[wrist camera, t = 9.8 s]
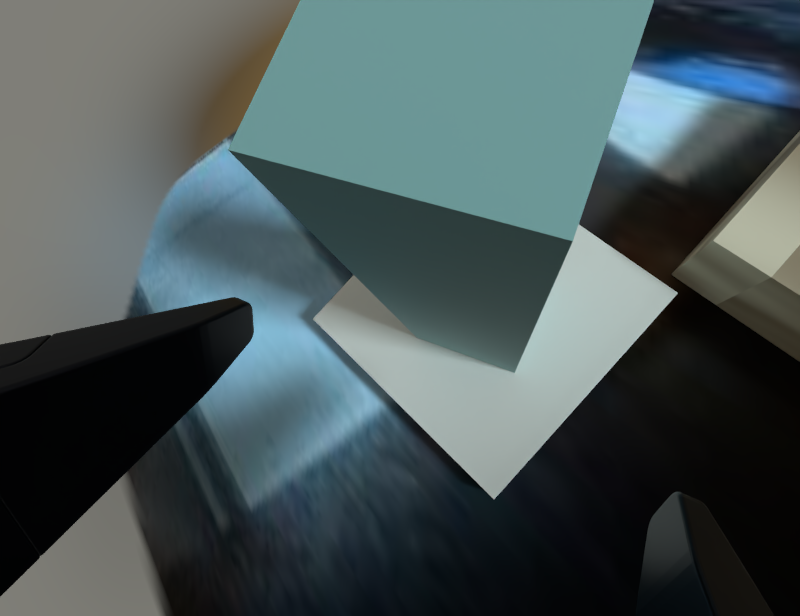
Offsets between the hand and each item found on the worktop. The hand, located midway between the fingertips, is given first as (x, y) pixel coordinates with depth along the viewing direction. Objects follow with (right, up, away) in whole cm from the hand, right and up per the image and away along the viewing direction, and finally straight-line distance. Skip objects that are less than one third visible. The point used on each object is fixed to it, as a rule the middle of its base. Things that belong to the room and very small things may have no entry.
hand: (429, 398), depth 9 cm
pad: (+3, +2, +10) cm, 10 cm away
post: (+3, +2, +8) cm, 9 cm away
